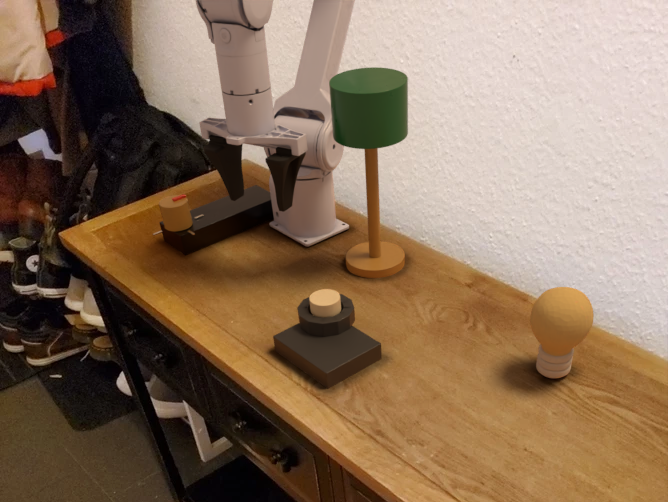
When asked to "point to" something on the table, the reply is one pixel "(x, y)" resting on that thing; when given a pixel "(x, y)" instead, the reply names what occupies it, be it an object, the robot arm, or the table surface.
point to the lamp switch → (325, 303)
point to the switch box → (327, 344)
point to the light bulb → (560, 328)
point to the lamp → (371, 150)
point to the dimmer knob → (175, 212)
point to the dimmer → (221, 220)
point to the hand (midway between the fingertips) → (261, 203)
